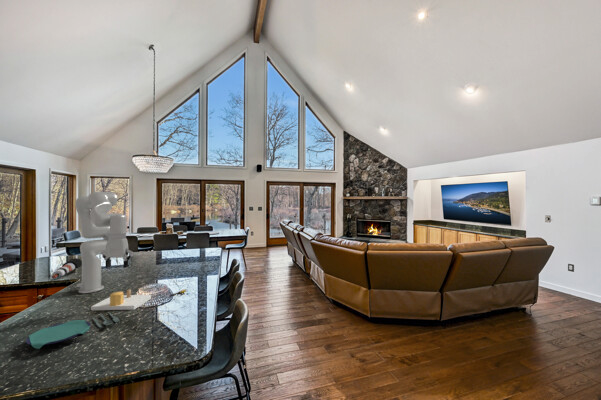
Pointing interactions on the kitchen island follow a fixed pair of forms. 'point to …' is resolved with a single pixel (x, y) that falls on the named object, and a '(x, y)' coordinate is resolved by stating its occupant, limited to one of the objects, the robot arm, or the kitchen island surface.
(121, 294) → the acorn cap nut
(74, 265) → the striped roll
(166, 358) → the kitchen island surface
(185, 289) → the composite cable
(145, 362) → the kitchen island surface
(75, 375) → the kitchen island surface
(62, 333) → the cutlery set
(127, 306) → the plate
